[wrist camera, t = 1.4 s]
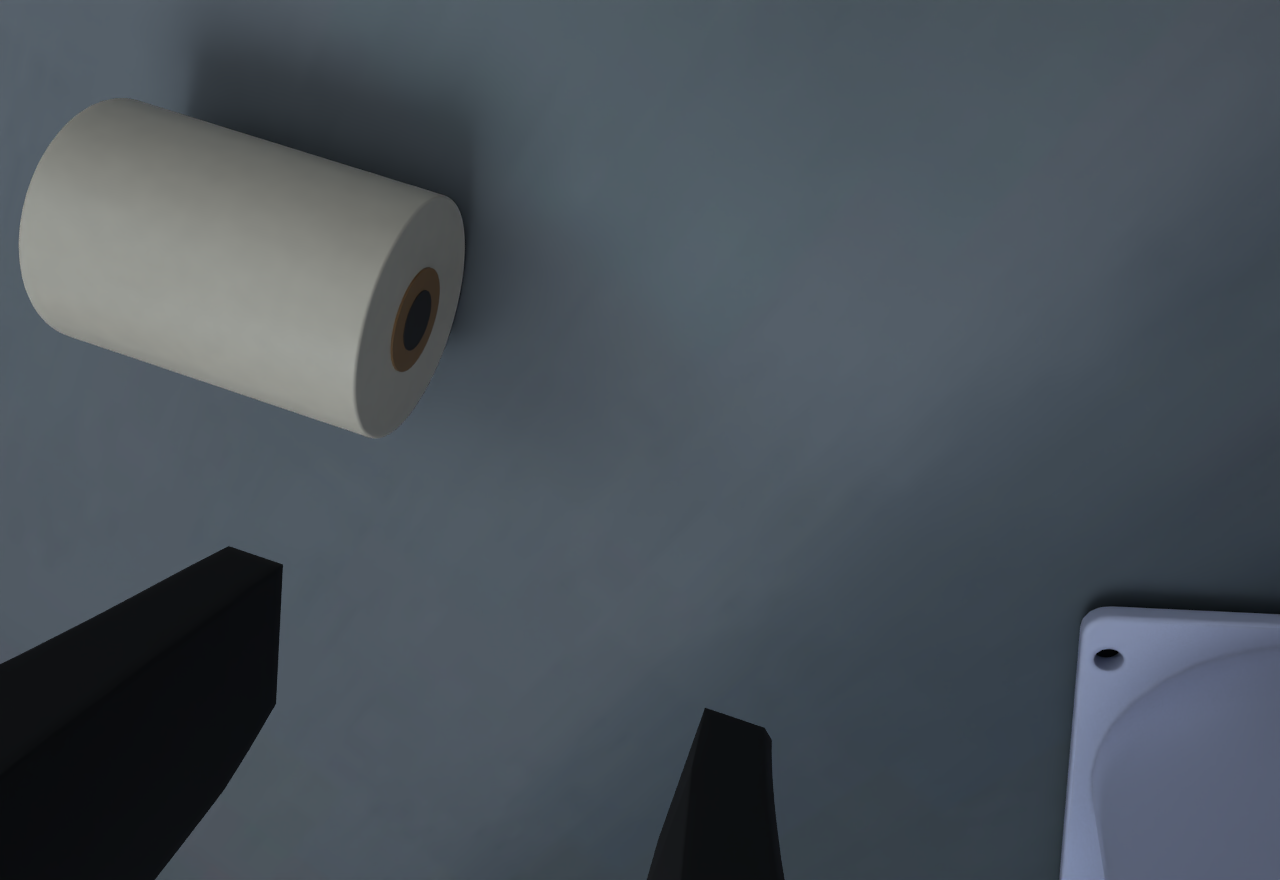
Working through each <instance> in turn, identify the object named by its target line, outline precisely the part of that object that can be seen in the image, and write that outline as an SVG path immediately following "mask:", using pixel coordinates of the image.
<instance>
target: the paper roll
mask: <svg viewBox="0 0 1280 880" xmlns="http://www.w3.org/2000/svg"><path fill="white" fill-rule="evenodd" d="M464 258H465V235H464V226H463V220H462V216H461V213H460V210H459V209H458V207H457V205H456V204H455V203H454V201H453V200H452V199H450V198H449V197H447V196H445V195H442V194H438V193H435V192H432V191H429V190H425V189H422V188H419V187H416V186H413V185H409V184H406V183H403V182H400V181H396V180H393V179H390V178H387V177H383V176H380V175H377V174H374V173H370V172H367V171H364V170H361V169H358V168H354V167H351V166H348V165H345V164H341V163H338V162H335V161H332V160H328V159H325V158H322V157H319V156H316V155H312V154H309V153H306V152H303V151H299V150H296V149H293V148H290V147H286V146H283V145H280V144H277V143H274V142H270V141H267V140H264V139H261V138H257V137H254V136H251V135H248V134H244V133H241V132H238V131H235V130H232V129H228V128H225V127H222V126H219V125H215V124H212V123H209V122H206V121H202V120H199V119H196V118H193V117H190V116H186V115H183V114H180V113H177V112H173V111H170V110H167V109H164V108H160V107H157V106H154V105H151V104H148V103H144V102H141V101H138V100H133V99H128V98H115V99H110V100H105V101H101V102H99V103H96V104H94V105H92V106H90V107H88V108H86V109H85V110H83V111H82V112H80V113H79V114H77V115H76V116H75V117H74V118H73V119H71V120H70V121H69V122H68V123H67V124H66V125H65V126H64V127H63V128H62V129H61V130H60V132H59V133H58V134H57V135H56V137H55V138H54V139H53V141H52V142H51V143H50V145H49V146H48V148H47V149H46V151H45V153H44V154H43V156H42V158H41V160H40V161H39V164H38V166H37V168H36V170H35V172H34V174H33V177H32V179H31V182H30V185H29V188H28V191H27V194H26V198H25V202H24V206H23V210H22V216H21V223H20V231H19V259H20V267H21V273H22V278H23V282H24V285H25V289H26V292H27V294H28V296H29V299H30V301H31V303H32V305H33V306H34V308H35V309H36V311H37V313H38V314H39V315H40V316H41V317H42V319H43V320H44V321H45V322H46V323H47V324H48V325H50V326H51V327H52V328H54V329H55V330H56V331H58V332H60V333H62V334H64V335H67V336H70V337H73V338H76V339H78V340H81V341H84V342H87V343H90V344H93V345H96V346H99V347H102V348H105V349H108V350H111V351H114V352H117V353H120V354H123V355H126V356H129V357H132V358H135V359H138V360H141V361H144V362H147V363H150V364H153V365H156V366H159V367H162V368H165V369H168V370H170V371H173V372H176V373H179V374H182V375H185V376H188V377H191V378H194V379H197V380H200V381H203V382H206V383H209V384H212V385H215V386H218V387H221V388H224V389H227V390H230V391H233V392H236V393H239V394H242V395H245V396H248V397H251V398H254V399H257V400H259V401H262V402H265V403H268V404H271V405H274V406H277V407H280V408H283V409H286V410H289V411H292V412H295V413H298V414H301V415H304V416H307V417H310V418H313V419H316V420H319V421H322V422H325V423H328V424H331V425H334V426H337V427H340V428H343V429H346V430H349V431H351V432H354V433H357V434H360V435H363V436H366V437H369V438H381V437H385V436H387V435H389V434H390V433H392V432H393V431H394V430H396V429H397V428H398V427H399V426H400V425H401V424H402V423H403V422H404V421H405V420H406V418H407V417H408V416H409V415H410V413H411V412H412V411H413V409H414V408H415V406H416V405H417V403H418V402H419V400H420V399H421V397H422V395H423V394H424V392H425V390H426V388H427V386H428V385H429V383H430V381H431V378H432V376H433V374H434V372H435V370H436V368H437V365H438V363H439V361H440V359H441V356H442V353H443V351H444V348H445V345H446V342H447V340H448V337H449V334H450V330H451V327H452V324H453V320H454V317H455V313H456V309H457V305H458V300H459V295H460V290H461V284H462V278H463V270H464Z"/></svg>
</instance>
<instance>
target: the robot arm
mask: <svg viewBox="0 0 1280 880" xmlns="http://www.w3.org/2000/svg"><path fill="white" fill-rule="evenodd" d="M282 572H283V564H280V563H277V562H274V561H271V560H268V559H265V558H262V557H259V556H256V555H253V554H250V553H247V552H244V551H241V550H238V549H235V548H233V547H230V546H228V547H226V548H224V549H222V550H220V551H218V552H216V553H214V554H212V555H211V556H209V557H207V558H205V559H203V560H201V561H199V562H197V563H195V564H193V565H191V566H189V567H187V568H185V569H184V570H182V571H180V572H178V573H176V574H174V575H172V576H170V577H168V578H167V579H165V580H163V581H161V582H159V583H157V584H155V585H154V586H152V587H150V588H148V589H146V590H144V591H142V592H140V593H139V594H137V595H135V596H133V597H131V598H129V599H127V600H125V601H123V602H122V603H120V604H118V605H116V606H114V607H112V608H110V609H108V610H106V611H105V612H103V613H101V614H99V615H97V616H95V617H93V618H91V619H89V620H87V621H85V622H83V623H81V624H79V625H77V626H76V627H74V628H72V629H70V630H68V631H66V632H64V633H62V634H60V635H58V636H56V637H54V638H52V639H50V640H48V641H46V642H44V643H42V644H40V645H38V646H36V647H34V648H32V649H30V650H28V651H26V652H24V653H22V654H20V655H18V656H16V657H14V658H12V659H10V660H8V661H6V662H4V663H2V664H0V880H155V879H156V877H157V876H158V875H159V874H160V872H161V871H162V870H163V868H164V867H165V866H166V865H167V863H168V862H169V861H170V859H171V858H172V857H173V856H174V854H175V853H176V852H177V850H178V849H179V848H180V847H181V845H182V844H183V843H184V841H185V840H186V839H187V837H188V836H189V835H190V834H191V832H192V831H193V830H194V828H195V827H196V826H197V825H198V823H199V822H200V821H201V819H202V818H203V817H204V815H205V814H206V813H207V812H208V810H209V809H210V808H211V806H212V805H213V804H214V802H215V801H216V800H217V798H218V797H219V796H220V794H221V793H222V792H223V790H224V789H225V787H226V786H227V784H228V783H229V781H230V779H231V778H232V776H233V775H234V773H235V771H236V770H237V768H238V767H239V765H240V763H241V762H242V760H243V758H244V757H245V755H246V754H247V752H248V750H249V749H250V747H251V745H252V744H253V742H254V740H255V739H256V737H257V735H258V733H259V732H260V730H261V728H262V727H263V725H264V723H265V722H266V720H267V718H268V716H269V715H270V713H271V711H272V710H273V708H274V706H275V704H276V692H277V672H278V652H279V632H280V612H281V592H282ZM1104 649H1113V650H1116V651H1118V652H1119V653H1118V654H1116V655H1115V656H1113V657H1107V658H1104V657H1100V656H1097V655H1096V653H1098V652H1099V651H1101V650H1104ZM771 749H772V740H771V738H770V736H769V735H768V733H767V731H766V730H765V728H763V727H760V726H757V725H754V724H751V723H748V722H746V721H743V720H740V719H737V718H734V717H731V716H728V715H725V714H722V713H719V712H716V711H713V710H710V709H707V708H705V710H704V713H703V715H702V718H701V721H700V724H699V727H698V729H697V732H696V735H695V738H694V741H693V743H692V746H691V749H690V752H689V755H688V758H687V760H686V763H685V766H684V769H683V772H682V774H681V777H680V780H679V783H678V786H677V788H676V791H675V794H674V797H673V800H672V802H671V805H670V808H669V811H668V814H667V817H666V819H665V822H664V825H663V828H662V831H661V833H660V836H659V839H658V843H657V846H656V850H655V853H654V857H653V860H652V864H651V867H650V871H649V874H648V878H647V880H784V874H783V868H782V861H781V855H780V847H779V839H778V831H777V823H776V814H775V804H774V793H773V780H772V753H771ZM1059 880H1280V614H1263V613H1242V612H1221V611H1200V610H1178V609H1157V608H1136V607H1115V606H1108V607H1099V608H1097V609H1094V610H1092V611H1090V612H1089V613H1088V614H1087V615H1086V616H1085V617H1084V618H1083V620H1082V622H1081V625H1080V634H1079V646H1078V659H1077V671H1076V683H1075V695H1074V707H1073V719H1072V731H1071V743H1070V755H1069V767H1068V779H1067V791H1066V803H1065V815H1064V827H1063V839H1062V851H1061V863H1060V875H1059Z"/></svg>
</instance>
